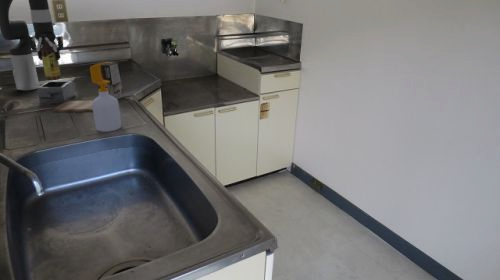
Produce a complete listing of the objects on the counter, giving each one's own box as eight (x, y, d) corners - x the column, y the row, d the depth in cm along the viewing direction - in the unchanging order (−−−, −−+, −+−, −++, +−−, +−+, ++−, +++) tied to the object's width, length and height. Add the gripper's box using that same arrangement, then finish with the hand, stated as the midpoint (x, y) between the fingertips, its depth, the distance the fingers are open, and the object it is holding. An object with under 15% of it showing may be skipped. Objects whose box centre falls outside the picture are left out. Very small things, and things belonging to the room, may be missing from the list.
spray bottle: (107, 134, 138) (96, 66, 128) (91, 129, 142) (79, 63, 132) (126, 126, 145) (118, 61, 135) (110, 121, 149) (101, 58, 139)
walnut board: (54, 111, 160) (54, 109, 159) (66, 102, 171) (65, 100, 170) (93, 111, 160) (93, 109, 160) (102, 102, 171) (102, 100, 171)
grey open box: (36, 105, 167) (32, 90, 164) (51, 95, 181) (48, 81, 178) (61, 105, 167) (58, 90, 165) (75, 95, 182) (72, 80, 179)
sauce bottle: (55, 81, 169) (46, 35, 161) (42, 80, 170) (33, 34, 162) (64, 77, 175) (56, 33, 167) (52, 76, 176) (43, 32, 168)
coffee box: (124, 96, 180) (119, 62, 173) (114, 100, 174) (109, 65, 168) (109, 94, 183) (104, 60, 177) (99, 98, 178) (94, 63, 171)
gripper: (62, 19, 166) (69, 58, 173) (29, 19, 165) (37, 58, 172) (55, 21, 159) (63, 61, 166) (20, 21, 158) (29, 61, 165)
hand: (49, 59), depth 169 cm, fingers closed on sauce bottle, 6 cm apart
